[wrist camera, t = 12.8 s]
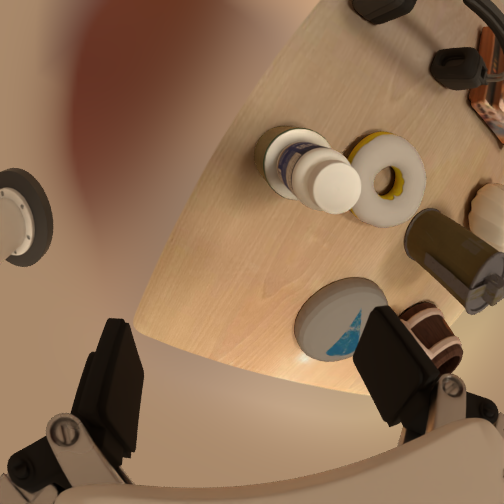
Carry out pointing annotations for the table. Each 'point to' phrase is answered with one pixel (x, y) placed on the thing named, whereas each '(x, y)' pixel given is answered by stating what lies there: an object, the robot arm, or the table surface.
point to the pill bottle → (319, 177)
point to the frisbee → (337, 318)
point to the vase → (489, 215)
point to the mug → (434, 336)
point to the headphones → (447, 60)
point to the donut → (406, 179)
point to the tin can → (274, 145)
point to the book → (490, 85)
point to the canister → (457, 259)
